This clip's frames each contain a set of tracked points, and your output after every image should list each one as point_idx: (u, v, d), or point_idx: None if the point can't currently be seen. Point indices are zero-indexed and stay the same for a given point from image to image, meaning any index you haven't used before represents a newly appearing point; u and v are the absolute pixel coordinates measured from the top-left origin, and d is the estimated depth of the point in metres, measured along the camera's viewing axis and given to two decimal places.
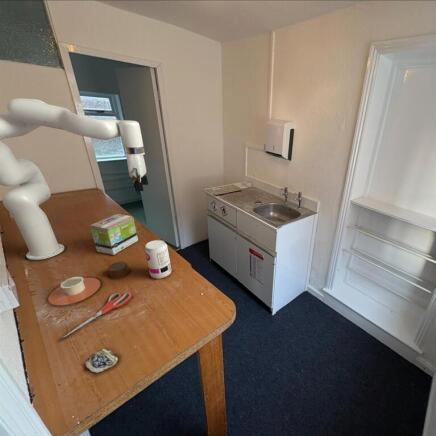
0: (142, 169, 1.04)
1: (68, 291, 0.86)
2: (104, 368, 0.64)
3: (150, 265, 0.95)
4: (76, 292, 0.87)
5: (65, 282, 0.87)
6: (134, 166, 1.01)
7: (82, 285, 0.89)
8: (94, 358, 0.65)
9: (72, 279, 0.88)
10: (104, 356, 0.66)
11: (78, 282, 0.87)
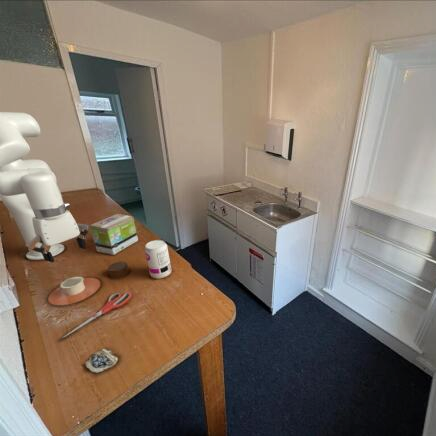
0: (53, 236, 0.77)
1: (68, 291, 0.86)
2: (104, 368, 0.64)
3: (150, 265, 0.95)
4: (76, 292, 0.87)
5: (65, 282, 0.87)
6: (38, 232, 0.75)
7: (82, 285, 0.89)
8: (94, 358, 0.65)
9: (72, 279, 0.88)
10: (104, 356, 0.66)
11: (78, 282, 0.87)
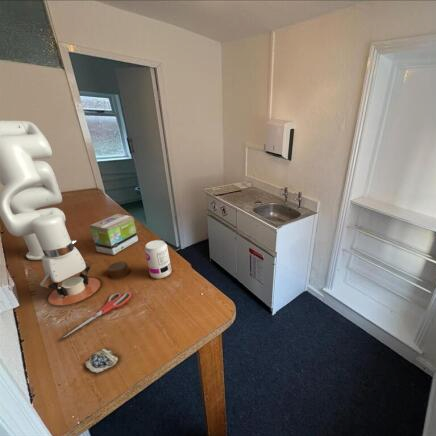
0: (61, 273, 0.82)
1: (68, 291, 0.86)
2: (104, 368, 0.64)
3: (150, 265, 0.95)
4: (76, 292, 0.87)
5: (65, 282, 0.87)
6: (47, 270, 0.79)
7: (82, 285, 0.89)
8: (94, 358, 0.65)
9: (72, 279, 0.88)
10: (104, 356, 0.66)
11: (78, 282, 0.87)
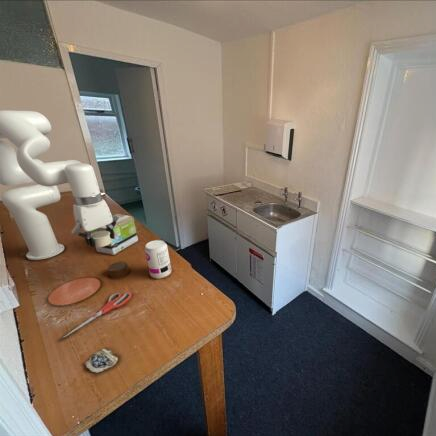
0: (91, 222, 0.84)
1: (96, 242, 0.88)
2: (104, 368, 0.64)
3: (150, 265, 0.95)
4: (104, 244, 0.89)
5: (93, 234, 0.89)
6: (78, 218, 0.82)
7: (109, 238, 0.91)
8: (94, 358, 0.65)
9: (99, 232, 0.91)
10: (104, 356, 0.66)
11: (105, 234, 0.90)
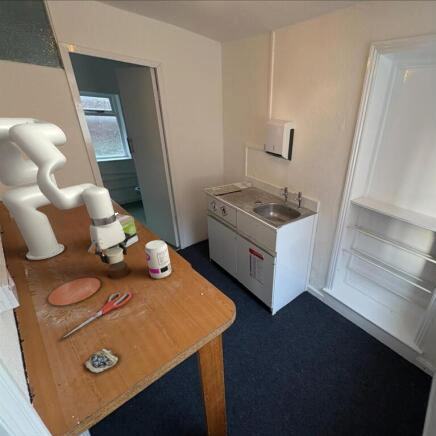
0: (106, 241, 0.89)
1: (110, 259, 0.93)
2: (104, 368, 0.64)
3: (150, 265, 0.95)
4: (117, 261, 0.95)
5: (107, 251, 0.95)
6: (94, 237, 0.87)
7: (122, 255, 0.96)
8: (94, 358, 0.65)
9: (112, 249, 0.96)
10: (104, 356, 0.66)
11: (119, 251, 0.95)
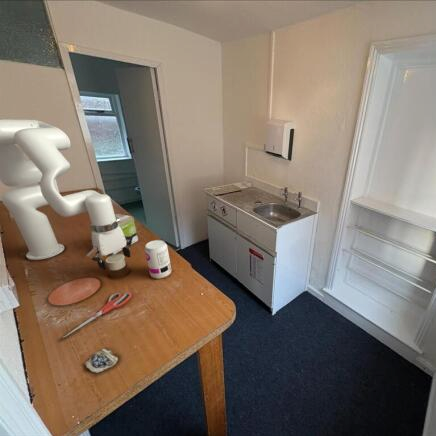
0: (107, 247, 0.91)
1: (112, 266, 0.95)
2: (104, 368, 0.64)
3: (150, 265, 0.95)
4: (119, 267, 0.96)
5: (109, 258, 0.96)
6: (96, 244, 0.88)
7: (124, 261, 0.98)
8: (94, 358, 0.65)
9: (114, 256, 0.97)
10: (104, 356, 0.66)
11: (121, 258, 0.96)
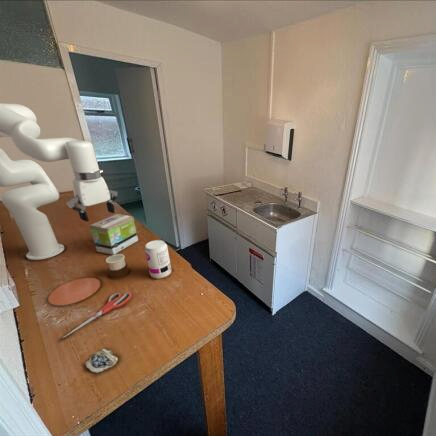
0: (89, 197, 0.88)
1: (112, 266, 0.95)
2: (104, 368, 0.64)
3: (150, 265, 0.95)
4: (119, 267, 0.96)
5: (109, 258, 0.96)
6: (77, 192, 0.86)
7: (124, 261, 0.98)
8: (94, 358, 0.65)
9: (114, 256, 0.97)
10: (104, 356, 0.66)
11: (121, 258, 0.96)
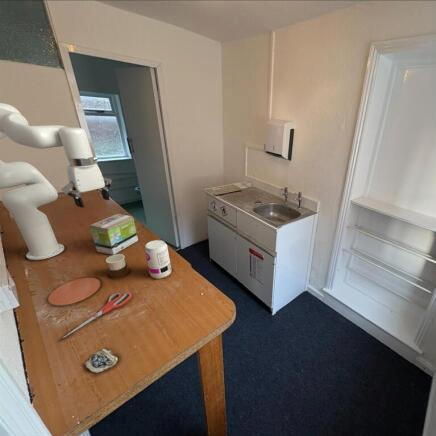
0: (84, 183, 0.90)
1: (112, 266, 0.95)
2: (104, 368, 0.64)
3: (150, 265, 0.95)
4: (119, 267, 0.96)
5: (109, 258, 0.96)
6: (71, 179, 0.88)
7: (124, 261, 0.98)
8: (94, 358, 0.65)
9: (114, 256, 0.97)
10: (104, 356, 0.66)
11: (121, 258, 0.96)
